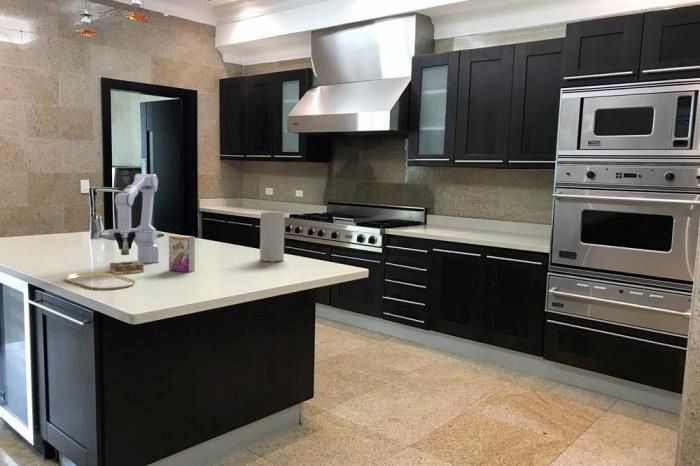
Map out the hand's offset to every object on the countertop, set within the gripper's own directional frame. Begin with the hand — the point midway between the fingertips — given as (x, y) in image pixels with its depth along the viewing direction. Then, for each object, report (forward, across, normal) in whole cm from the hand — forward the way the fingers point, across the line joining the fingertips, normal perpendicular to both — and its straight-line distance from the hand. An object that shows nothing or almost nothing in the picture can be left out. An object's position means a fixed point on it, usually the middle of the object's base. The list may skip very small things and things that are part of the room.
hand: (124, 249), depth 251 cm
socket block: (+10, 0, -2) cm, 10 cm away
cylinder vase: (+10, +73, -6) cm, 74 cm away
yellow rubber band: (+11, -15, -20) cm, 27 cm away
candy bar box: (+10, +22, -12) cm, 27 cm away
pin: (+3, 0, 0) cm, 3 cm away
